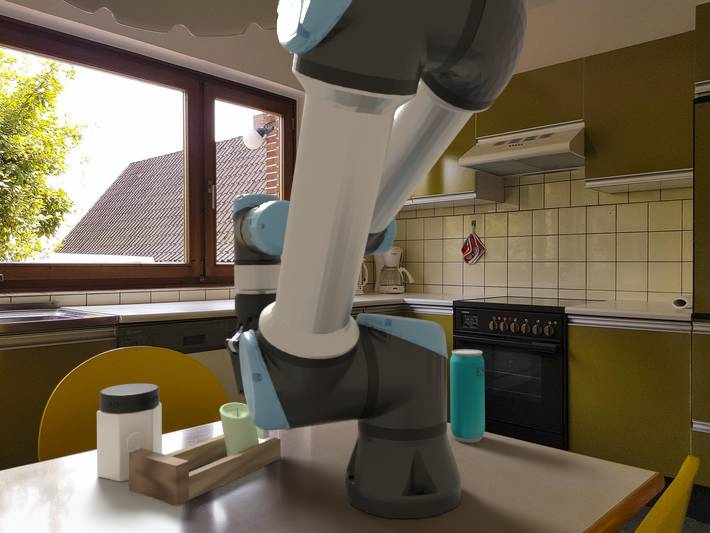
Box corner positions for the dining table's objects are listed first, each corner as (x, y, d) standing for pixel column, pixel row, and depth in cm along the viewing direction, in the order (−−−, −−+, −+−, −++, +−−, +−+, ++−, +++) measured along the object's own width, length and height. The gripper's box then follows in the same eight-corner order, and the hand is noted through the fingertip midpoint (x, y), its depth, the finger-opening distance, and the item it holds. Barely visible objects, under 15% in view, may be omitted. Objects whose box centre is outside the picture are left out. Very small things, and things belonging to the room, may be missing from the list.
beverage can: (489, 437, 95) (488, 350, 95) (478, 446, 91) (477, 355, 91) (458, 432, 99) (457, 347, 99) (445, 440, 94) (444, 352, 94)
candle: (266, 449, 87) (258, 399, 86) (249, 464, 82) (240, 412, 82) (239, 448, 89) (231, 399, 88) (221, 463, 84) (212, 412, 83)
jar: (102, 486, 75) (101, 398, 75) (92, 468, 82) (92, 387, 82) (169, 472, 80) (168, 390, 80) (155, 456, 87) (154, 380, 87)
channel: (280, 458, 86) (280, 426, 86) (176, 505, 69) (176, 465, 69) (236, 447, 91) (236, 417, 91) (129, 490, 74) (129, 452, 74)
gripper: (268, 288, 96) (269, 422, 97) (211, 293, 86) (214, 444, 86) (301, 289, 92) (303, 429, 93) (246, 295, 81) (249, 453, 82)
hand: (260, 436), depth 90 cm, fingers closed
